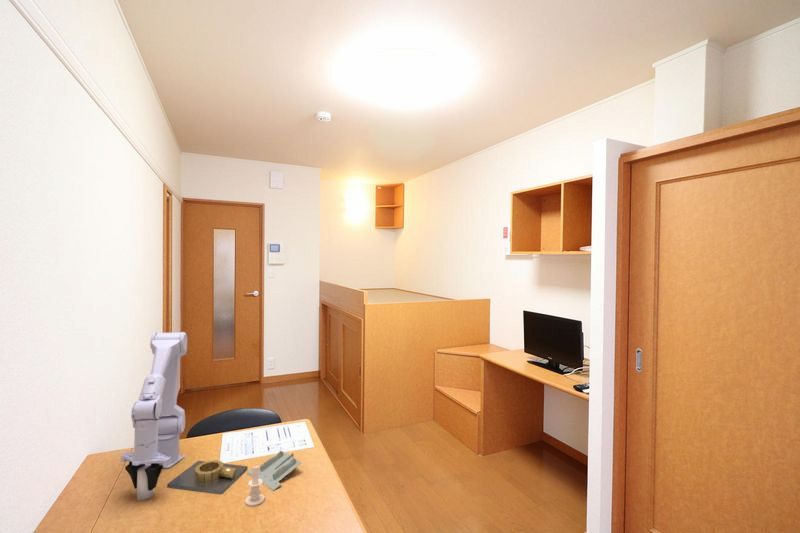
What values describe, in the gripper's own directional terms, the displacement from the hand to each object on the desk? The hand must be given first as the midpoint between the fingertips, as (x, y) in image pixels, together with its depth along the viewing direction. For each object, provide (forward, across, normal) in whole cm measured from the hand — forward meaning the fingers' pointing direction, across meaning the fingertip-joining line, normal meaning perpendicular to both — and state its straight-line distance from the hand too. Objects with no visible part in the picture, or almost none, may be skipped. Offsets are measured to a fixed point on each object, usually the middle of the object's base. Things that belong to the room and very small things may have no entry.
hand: (145, 487), depth 111 cm
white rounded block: (+2, 0, 0) cm, 2 cm away
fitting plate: (+2, +12, +12) cm, 17 cm away
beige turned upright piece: (+3, +32, +4) cm, 32 cm away
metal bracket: (+3, +32, +18) cm, 37 cm away
